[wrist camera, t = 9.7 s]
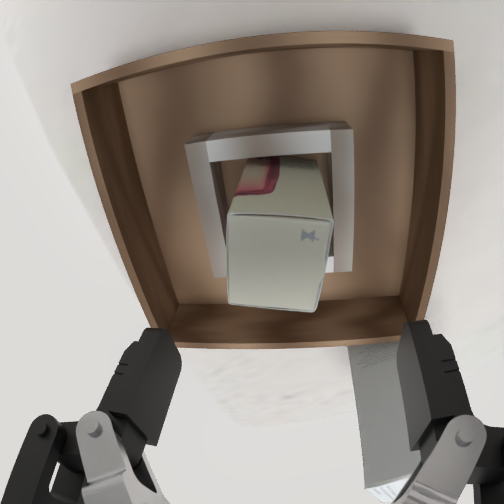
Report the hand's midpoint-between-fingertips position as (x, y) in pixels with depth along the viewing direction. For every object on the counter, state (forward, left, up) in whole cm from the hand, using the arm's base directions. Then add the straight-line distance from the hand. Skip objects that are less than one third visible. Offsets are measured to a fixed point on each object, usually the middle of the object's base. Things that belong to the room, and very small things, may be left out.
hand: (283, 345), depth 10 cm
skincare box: (-8, +14, -13) cm, 21 cm away
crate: (+1, 0, -13) cm, 13 cm away
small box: (0, 0, -12) cm, 12 cm away
